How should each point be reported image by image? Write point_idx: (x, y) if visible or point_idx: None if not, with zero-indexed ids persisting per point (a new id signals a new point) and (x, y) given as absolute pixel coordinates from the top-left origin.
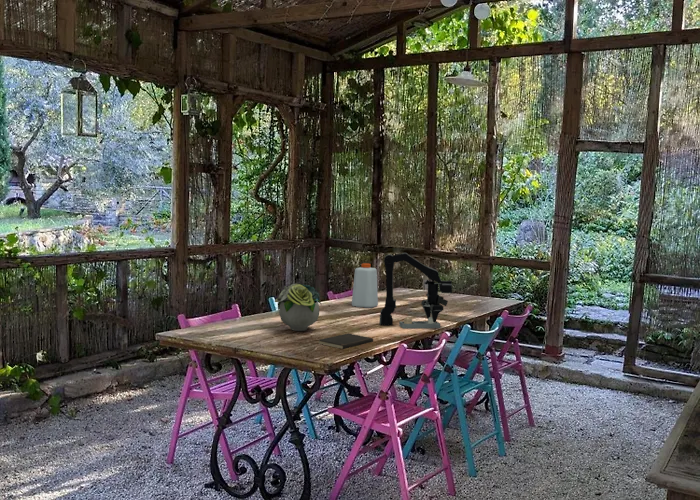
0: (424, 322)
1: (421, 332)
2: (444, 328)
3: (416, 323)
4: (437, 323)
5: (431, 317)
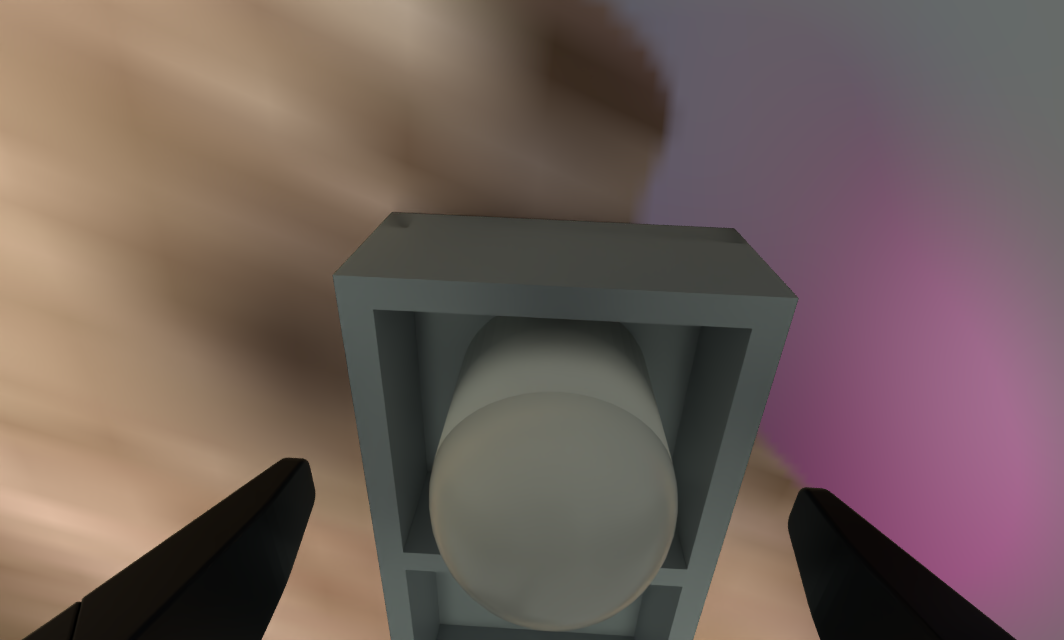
0: None
1: None
2: (582, 16)
3: (425, 619)
4: (769, 384)
5: (606, 613)
